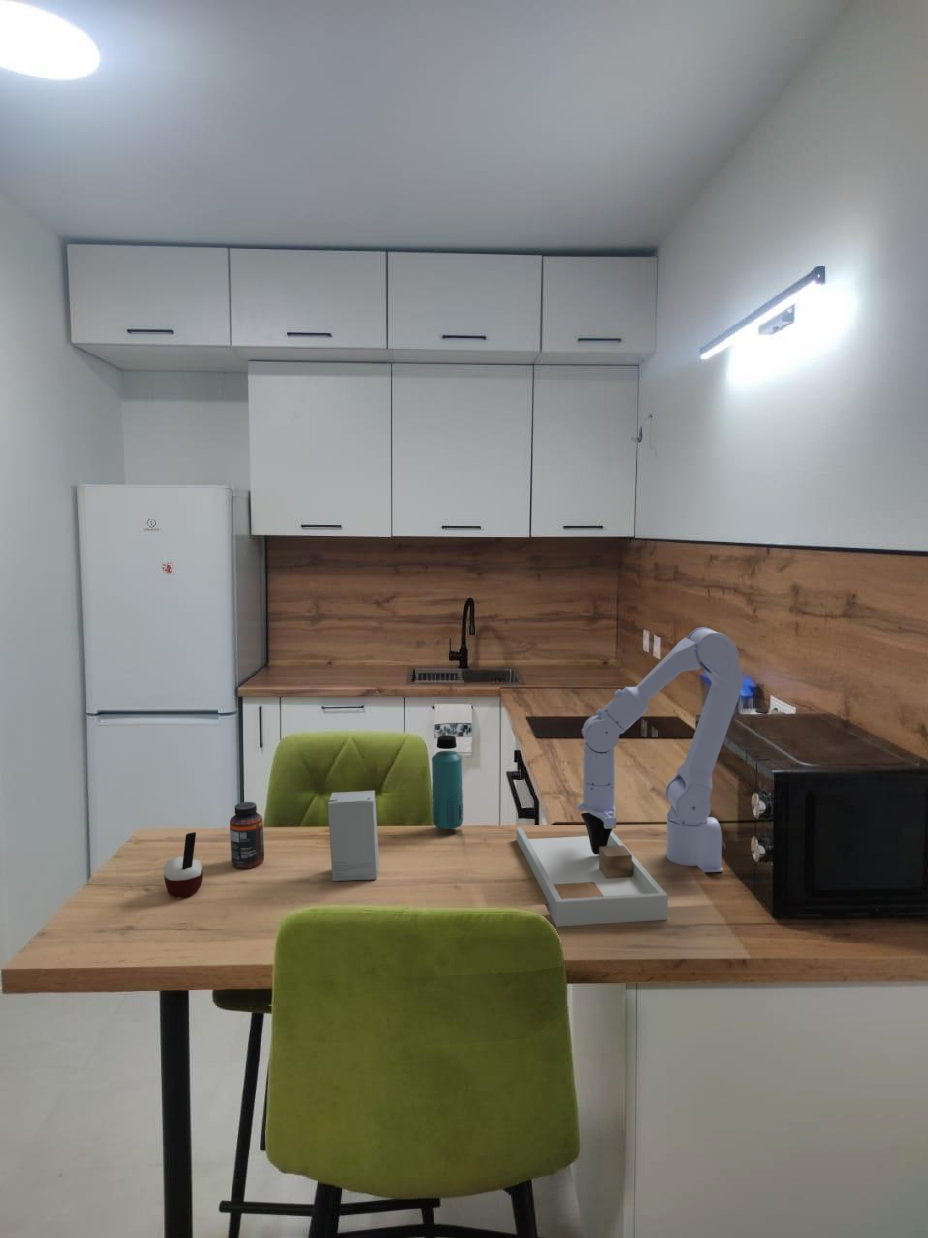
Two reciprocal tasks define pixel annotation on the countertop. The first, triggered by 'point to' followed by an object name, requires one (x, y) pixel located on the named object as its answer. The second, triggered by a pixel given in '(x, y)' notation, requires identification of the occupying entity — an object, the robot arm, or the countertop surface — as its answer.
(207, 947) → the countertop surface
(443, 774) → the beverage bottle
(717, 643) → the robot arm
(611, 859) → the walnut block
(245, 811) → the supplement bottle
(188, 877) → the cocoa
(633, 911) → the tray
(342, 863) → the skincare box
